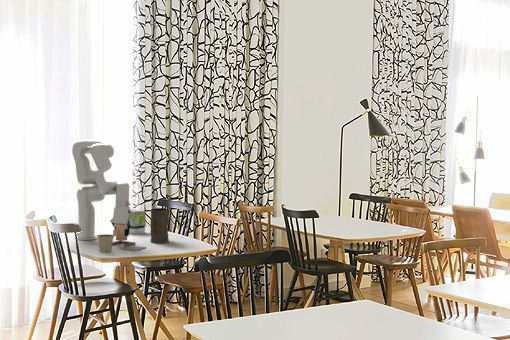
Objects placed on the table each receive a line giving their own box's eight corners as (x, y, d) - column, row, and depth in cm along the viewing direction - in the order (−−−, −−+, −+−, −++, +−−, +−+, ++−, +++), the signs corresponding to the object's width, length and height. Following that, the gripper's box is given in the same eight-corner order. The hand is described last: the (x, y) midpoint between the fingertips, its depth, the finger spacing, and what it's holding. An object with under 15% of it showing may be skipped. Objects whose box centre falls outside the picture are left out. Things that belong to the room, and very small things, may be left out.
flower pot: (98, 249, 351) (98, 234, 350) (115, 249, 352) (115, 234, 351) (95, 252, 342) (95, 236, 341) (113, 252, 342) (113, 236, 342)
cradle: (109, 245, 364) (109, 242, 364) (120, 243, 373) (120, 240, 373) (125, 247, 360) (125, 244, 360) (135, 244, 369) (135, 242, 368)
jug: (120, 238, 370) (120, 222, 370) (129, 239, 368) (129, 223, 367) (109, 240, 361) (109, 225, 360) (118, 242, 358) (119, 226, 358)
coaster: (120, 249, 353) (120, 248, 353) (131, 246, 362) (131, 245, 362) (135, 250, 349) (135, 249, 349) (146, 248, 358) (146, 247, 358)
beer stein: (164, 244, 372) (165, 210, 371) (147, 243, 375) (147, 209, 373) (173, 240, 387) (173, 207, 386) (156, 239, 390) (157, 206, 389)
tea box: (145, 232, 414) (145, 210, 413) (134, 234, 405) (134, 211, 404) (128, 230, 422) (128, 208, 421) (117, 232, 413) (117, 209, 412)
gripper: (138, 204, 365) (138, 235, 366) (113, 202, 372) (113, 232, 373) (130, 206, 358) (130, 237, 359) (105, 203, 365) (105, 234, 366)
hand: (121, 234), depth 366 cm, fingers closed on jug, 6 cm apart
